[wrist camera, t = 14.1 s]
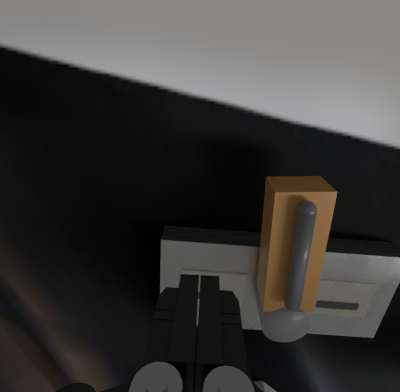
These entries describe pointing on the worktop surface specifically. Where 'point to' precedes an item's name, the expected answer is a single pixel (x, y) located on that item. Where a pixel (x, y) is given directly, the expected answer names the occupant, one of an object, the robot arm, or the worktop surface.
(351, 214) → the worktop surface
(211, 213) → the worktop surface
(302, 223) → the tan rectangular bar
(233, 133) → the worktop surface
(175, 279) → the plate
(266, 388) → the jar
